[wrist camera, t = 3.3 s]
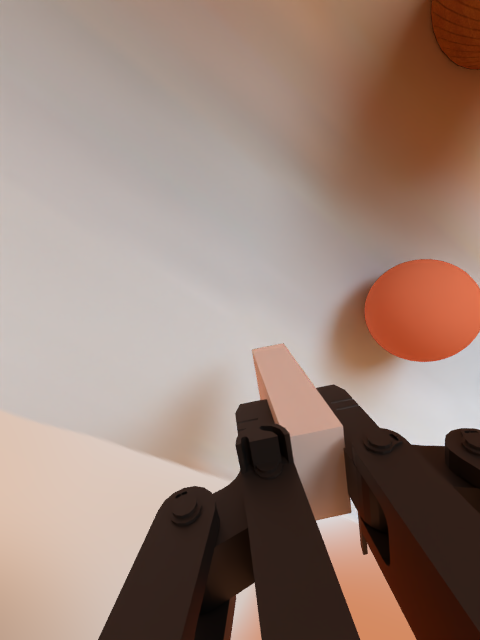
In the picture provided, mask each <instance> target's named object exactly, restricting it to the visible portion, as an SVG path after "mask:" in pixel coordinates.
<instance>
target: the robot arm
mask: <svg viewBox="0 0 480 640" xmlns="http://www.w3.org/2000/svg"><path fill="white" fill-rule="evenodd" d="M252 353H253V359H254V364H255V370H256V376H257V382H258V388H259V393H260V399H261V400H259V401H254V402H249V403H244V404H240V405H239V407H238V409H237V411H236V413H235V414H236V422H237V430H238V437H237V440H236V450H237V454H238V459H239V464H240V472H239V474H238V476H237V477H236V479H235V480H234V481H233V482H231V483H230V484H229V485H228V486H226V487H225V488H223V489H222V490H219V491H218V492H215V493H213V494H212V493H211V492H210V491H208V490H207V489H205V488H203V487H197V486H193V487H187V488H183V489H181V490H179V491H177V492H175V493H173V494H172V495H171V496H170V497H169V498H168V499H166V500H165V501H164V503H163V504H162V506H161V507H160V509H159V510H158V512H157V514H156V516H155V519H154V521H153V523H152V525H151V527H150V529H149V532H148V534H147V536H146V538H145V541H144V543H143V544H142V547H141V549H140V551H139V553H138V555H137V557H136V559H135V562H134V564H133V566H132V568H131V570H130V572H129V574H128V577H127V579H126V581H125V583H124V585H123V588H122V589H121V592H120V594H119V596H118V598H117V600H116V603H115V605H114V607H113V609H112V611H111V613H110V615H109V617H108V620H107V622H106V624H105V626H104V628H103V630H102V633H101V635H100V637H99V639H98V640H230V638H231V631H232V624H233V616H234V608H235V602H236V594H238V593H239V592H241V591H242V590H244V589H245V588H247V587H248V586H250V585H251V584H253V583H254V582H255V588H256V596H257V605H258V612H259V621H260V628H261V637H262V640H360V638H359V635H358V632H357V630H356V627H355V624H354V622H353V619H352V617H351V614H350V611H349V608H348V606H347V603H346V600H345V598H344V595H343V593H342V590H341V587H340V584H339V582H338V579H337V576H336V574H335V571H334V568H333V566H332V563H331V560H330V558H329V555H328V552H327V550H326V547H325V544H324V541H323V539H322V536H321V533H320V531H319V528H318V526H317V523H316V520H320V519H324V518H329V517H334V516H338V515H343V514H348V513H351V504H350V498H351V500H352V501H353V503H354V505H355V507H356V509H357V511H358V519H359V529H360V541H361V548H362V551H363V554H364V555H365V554H368V552H367V544H368V545H369V547H370V549H371V551H372V553H373V555H374V557H375V559H376V561H377V563H378V565H379V567H380V569H381V571H382V573H383V575H384V577H385V579H386V581H387V583H388V584H389V586H390V588H391V590H392V592H393V594H394V596H395V598H396V600H397V602H398V604H399V606H400V607H401V610H402V612H403V614H404V615H405V618H406V619H407V621H408V623H409V625H410V627H411V629H412V631H413V633H414V635H415V637H416V639H417V640H480V430H478V429H468V428H461V429H457V430H453V431H451V432H449V433H448V434H447V435H446V438H445V446H420V445H411V444H410V443H409V442H408V441H407V440H406V439H405V438H404V437H402V436H401V435H399V434H398V433H396V432H393V431H391V430H388V429H383V428H379V427H378V426H377V424H376V423H375V422H374V421H373V420H372V419H371V418H370V417H369V416H368V415H367V414H366V412H365V411H364V410H363V409H362V408H361V407H360V406H358V404H357V403H356V402H355V400H354V399H352V397H351V396H350V395H349V394H348V393H347V392H346V391H345V390H344V389H342V388H340V387H338V386H335V385H329V386H324V387H319V388H315V386H314V385H313V384H312V382H311V381H310V379H309V378H308V377H307V375H306V374H305V373H304V371H303V370H302V368H301V367H300V366H299V364H298V363H297V361H296V360H295V359H294V357H293V356H292V354H291V353H290V352H289V350H288V349H287V347H286V346H285V345H284V343H283V344H278V345H272V346H267V347H262V348H257V349H252Z"/></svg>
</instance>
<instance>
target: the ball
mask: <svg viewBox="0 0 480 640" xmlns="http://www.w3.org/2000/svg"><path fill="white" fill-rule="evenodd" d="M365 321H366V324H367V327H368V329H369V331H370V333H371V335H372V337H373V338H374V339H375V341H376V342H377V343H378V344H379V345H380V346H381V347H383V348H384V349H385V350H386V351H388V352H390V353H391V354H393V355H395V356H397V357H400V358H403V359H407V360H410V361H419V362H429V361H437V360H441V359H445V358H448V357H450V356H453V355H455V354H457V353H458V352H460V351H461V350H463V349H464V348H466V347H467V346H468V345H469V344H470V343H471V342H472V341H473V340H474V339H475V337H476V336H477V334H478V333H479V331H480V289H479V287H478V285H477V284H476V282H475V281H474V280H473V279H472V278H471V277H470V276H469V275H468V274H467V273H466V272H464V271H463V270H462V269H460V268H458V267H456V266H454V265H452V264H449V263H447V262H444V261H438V260H432V259H420V260H413V261H408V262H404V263H402V264H399V265H397V266H395V267H393V268H391V269H389V270H388V271H387V272H385V273H384V274H383V275H382V276H380V277H379V278H378V280H377V281H376V282H375V283H374V284H373V286H372V287H371V289H370V291H369V293H368V296H367V298H366V302H365Z"/></svg>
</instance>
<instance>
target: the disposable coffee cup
mask: <svg viewBox="0 0 480 640" xmlns="http://www.w3.org/2000/svg"><path fill="white" fill-rule="evenodd" d="M431 17H432V24H433V30H434V33H435V36H436V39H437V42H438V44H439V45H440V47H441V49H442V51H443V52H444V53H445V54H446V55H447V56H448V57H449V58H450V59H451V60H452V61H453V62H454V63H456V64H457V65H459V66H462V67H465V68H468V69H480V0H432V6H431Z"/></svg>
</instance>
